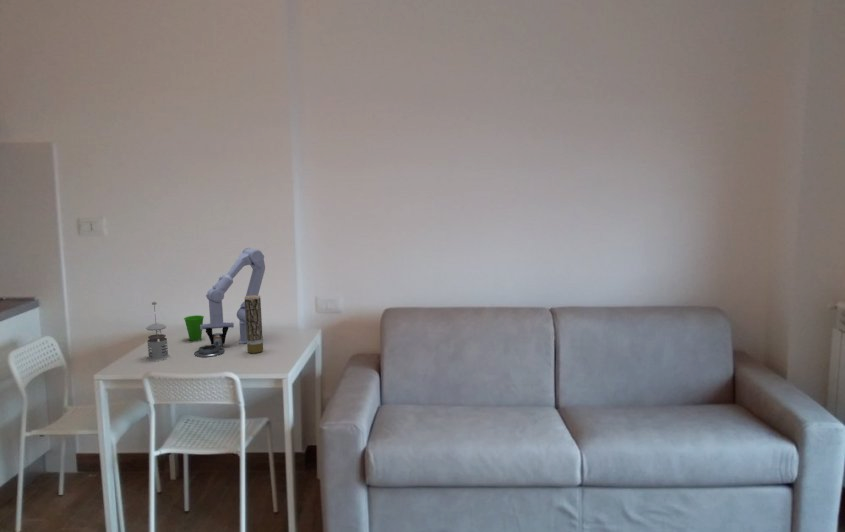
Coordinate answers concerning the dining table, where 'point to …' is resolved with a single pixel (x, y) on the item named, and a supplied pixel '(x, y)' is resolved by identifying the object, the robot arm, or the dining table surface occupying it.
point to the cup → (194, 327)
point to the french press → (157, 348)
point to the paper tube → (253, 324)
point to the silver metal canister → (218, 339)
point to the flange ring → (209, 351)
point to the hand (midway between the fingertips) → (218, 343)
